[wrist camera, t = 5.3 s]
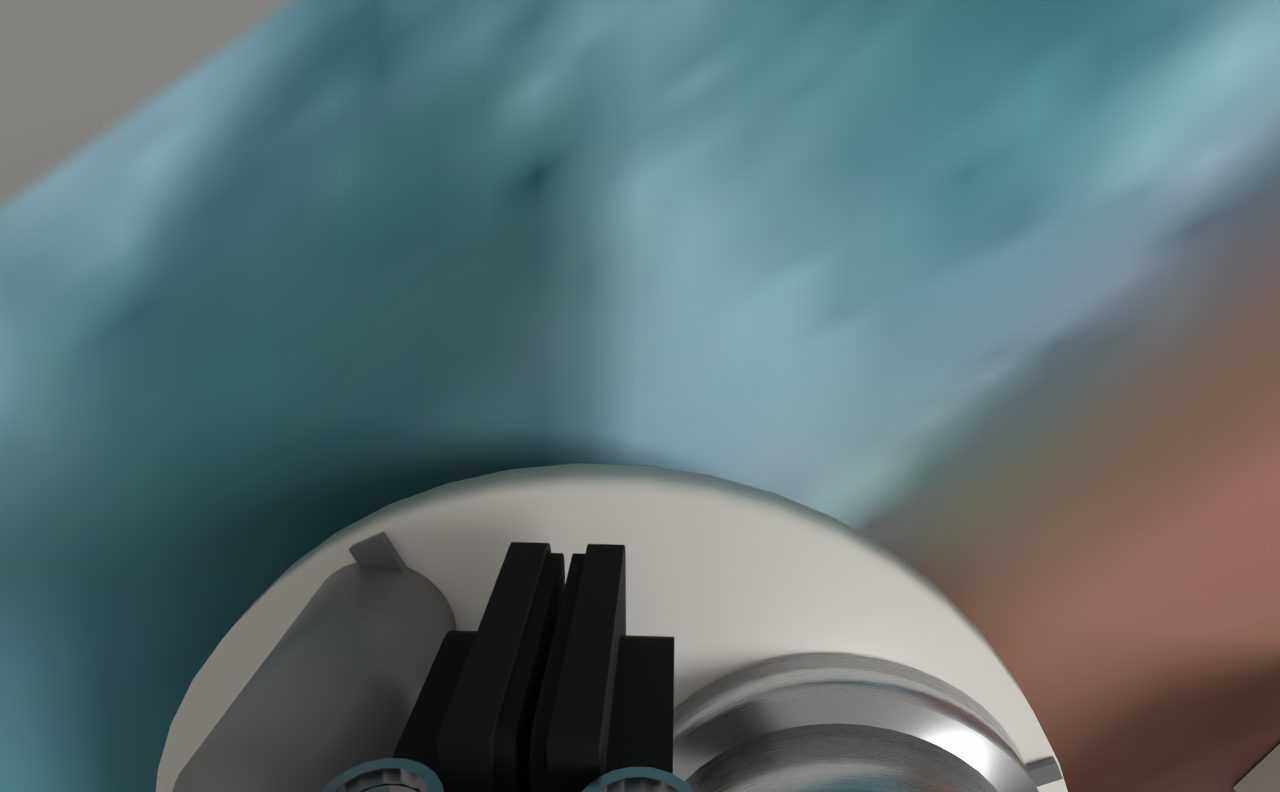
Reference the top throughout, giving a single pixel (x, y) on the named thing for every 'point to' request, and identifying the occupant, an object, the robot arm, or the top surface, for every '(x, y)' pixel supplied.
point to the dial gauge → (1263, 775)
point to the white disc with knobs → (568, 520)
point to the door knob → (841, 732)
